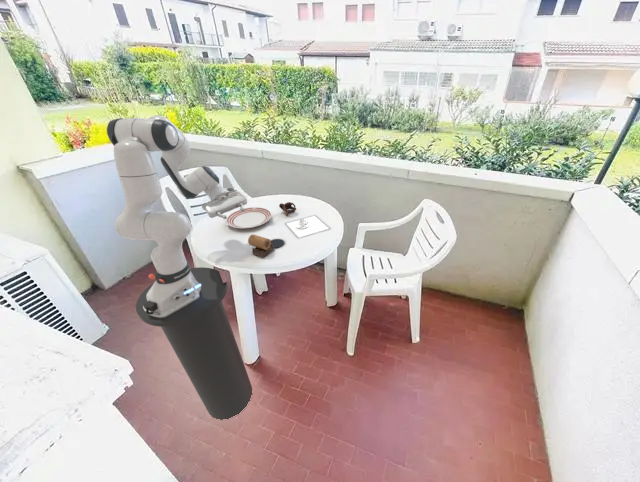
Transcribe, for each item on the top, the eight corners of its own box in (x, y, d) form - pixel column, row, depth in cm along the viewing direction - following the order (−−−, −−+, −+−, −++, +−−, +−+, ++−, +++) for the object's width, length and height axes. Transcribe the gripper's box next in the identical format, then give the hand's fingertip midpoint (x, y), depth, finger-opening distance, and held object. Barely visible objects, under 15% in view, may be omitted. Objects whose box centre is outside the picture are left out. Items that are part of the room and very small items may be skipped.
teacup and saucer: (306, 221, 179) (306, 215, 177) (312, 226, 174) (311, 220, 171) (293, 224, 175) (293, 219, 173) (298, 230, 170) (298, 224, 168)
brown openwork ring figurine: (298, 210, 194) (298, 202, 187) (293, 220, 190) (293, 214, 182) (281, 204, 194) (280, 197, 186) (276, 215, 189) (275, 208, 182)
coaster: (277, 249, 152) (277, 249, 152) (264, 245, 155) (264, 245, 155) (287, 242, 159) (287, 241, 159) (274, 238, 162) (274, 237, 162)
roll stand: (263, 258, 146) (262, 252, 144) (253, 254, 148) (251, 248, 146) (274, 250, 152) (273, 244, 150) (264, 246, 155) (262, 240, 152)
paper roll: (264, 252, 145) (262, 242, 142) (249, 247, 149) (246, 237, 145) (271, 246, 149) (270, 236, 146) (257, 241, 153) (255, 232, 150)
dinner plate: (257, 234, 165) (256, 229, 163) (217, 228, 171) (216, 223, 169) (279, 214, 187) (279, 209, 185) (243, 209, 193) (242, 204, 191)
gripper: (198, 200, 137) (212, 218, 132) (237, 186, 148) (252, 202, 143) (201, 209, 142) (215, 227, 137) (239, 195, 153) (253, 211, 148)
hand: (234, 214), depth 140 cm, fingers open, 8 cm apart
